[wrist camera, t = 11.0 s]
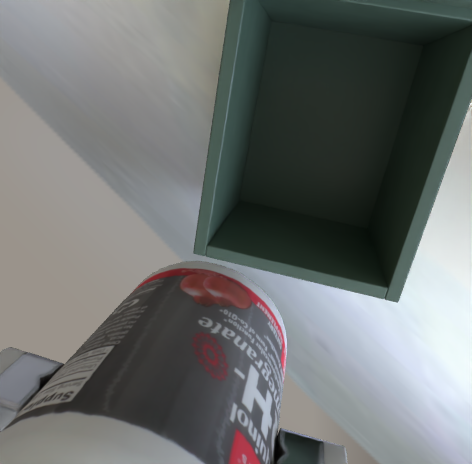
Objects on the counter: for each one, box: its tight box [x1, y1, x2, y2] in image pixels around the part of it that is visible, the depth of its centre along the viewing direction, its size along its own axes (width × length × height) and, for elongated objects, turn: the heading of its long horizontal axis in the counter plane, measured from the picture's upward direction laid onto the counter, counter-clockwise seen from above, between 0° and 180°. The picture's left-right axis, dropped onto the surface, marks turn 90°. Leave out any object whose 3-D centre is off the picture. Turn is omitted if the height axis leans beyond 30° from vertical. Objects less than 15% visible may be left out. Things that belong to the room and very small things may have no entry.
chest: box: [194, 0, 472, 302], centre depth 27 cm, size 16×13×12 cm
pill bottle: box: [0, 261, 287, 464], centre depth 9 cm, size 5×5×10 cm
